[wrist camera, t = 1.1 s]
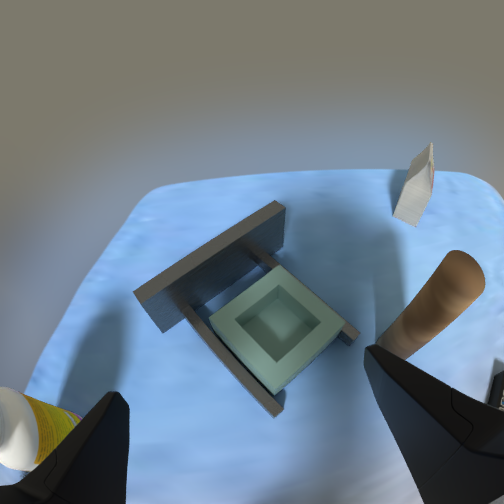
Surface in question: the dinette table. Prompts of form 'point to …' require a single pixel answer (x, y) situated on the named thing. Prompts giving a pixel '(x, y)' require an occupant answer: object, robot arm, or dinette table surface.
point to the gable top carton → (416, 188)
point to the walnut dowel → (435, 304)
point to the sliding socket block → (276, 328)
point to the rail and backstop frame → (222, 286)
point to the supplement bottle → (30, 429)
